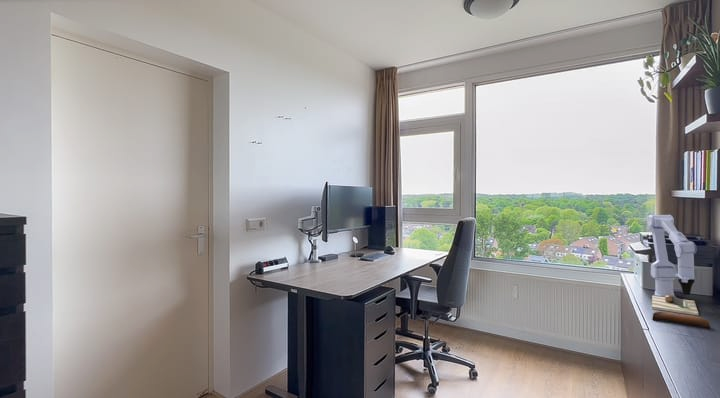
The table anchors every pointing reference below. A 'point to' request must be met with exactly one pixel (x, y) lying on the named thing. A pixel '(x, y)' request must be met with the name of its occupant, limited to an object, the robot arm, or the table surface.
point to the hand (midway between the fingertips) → (686, 294)
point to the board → (673, 306)
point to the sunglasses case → (681, 319)
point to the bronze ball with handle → (676, 300)
